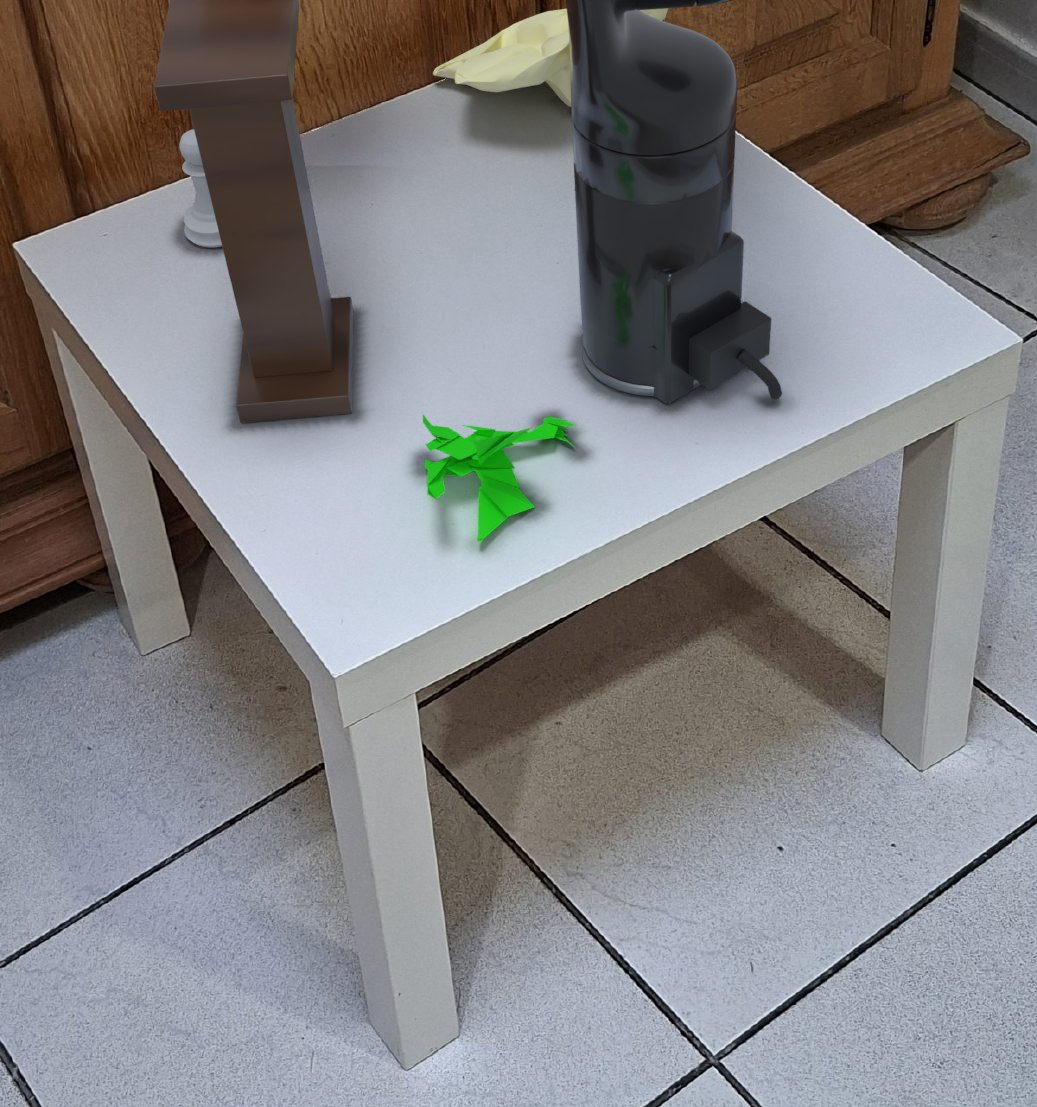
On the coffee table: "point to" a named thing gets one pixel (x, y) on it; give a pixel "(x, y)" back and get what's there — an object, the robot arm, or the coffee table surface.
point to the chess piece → (198, 197)
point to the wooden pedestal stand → (261, 201)
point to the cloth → (522, 56)
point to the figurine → (486, 466)
